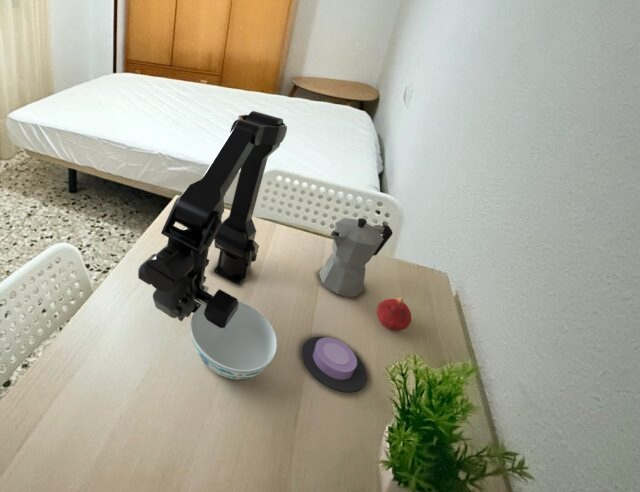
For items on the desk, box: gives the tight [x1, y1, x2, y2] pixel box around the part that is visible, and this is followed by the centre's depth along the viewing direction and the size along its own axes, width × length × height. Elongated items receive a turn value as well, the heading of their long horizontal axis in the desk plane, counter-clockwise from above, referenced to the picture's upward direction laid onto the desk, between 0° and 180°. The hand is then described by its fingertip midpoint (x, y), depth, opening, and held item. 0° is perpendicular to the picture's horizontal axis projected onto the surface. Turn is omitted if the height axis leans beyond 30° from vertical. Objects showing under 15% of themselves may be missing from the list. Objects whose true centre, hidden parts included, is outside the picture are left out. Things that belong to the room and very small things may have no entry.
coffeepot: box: [319, 217, 393, 298], centre depth 90 cm, size 15×9×18 cm, turn 101°
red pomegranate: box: [376, 296, 412, 332], centre depth 81 cm, size 6×6×8 cm
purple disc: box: [313, 337, 357, 380], centre depth 74 cm, size 7×7×2 cm
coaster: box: [301, 336, 368, 393], centre depth 75 cm, size 11×11×1 cm
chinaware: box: [190, 300, 278, 380], centre depth 73 cm, size 15×15×8 cm
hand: (181, 319), depth 79 cm, fingers closed
